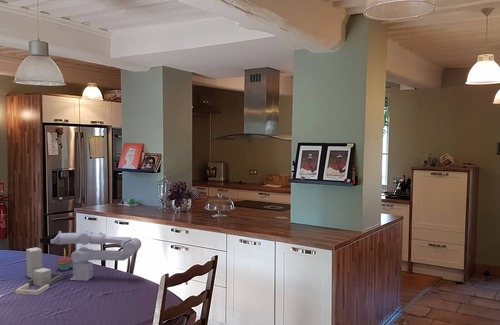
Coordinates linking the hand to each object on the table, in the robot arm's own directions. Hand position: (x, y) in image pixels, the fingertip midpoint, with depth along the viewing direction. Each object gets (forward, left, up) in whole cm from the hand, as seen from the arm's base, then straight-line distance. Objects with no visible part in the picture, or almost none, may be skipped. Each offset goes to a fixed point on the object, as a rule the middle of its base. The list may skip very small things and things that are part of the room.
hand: (43, 239), depth 235 cm
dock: (-5, +8, -20) cm, 22 cm away
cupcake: (-4, -15, -21) cm, 26 cm away
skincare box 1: (+5, 0, -21) cm, 21 cm away
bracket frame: (-6, +21, -20) cm, 30 cm away
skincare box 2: (-5, +11, -21) cm, 24 cm away
